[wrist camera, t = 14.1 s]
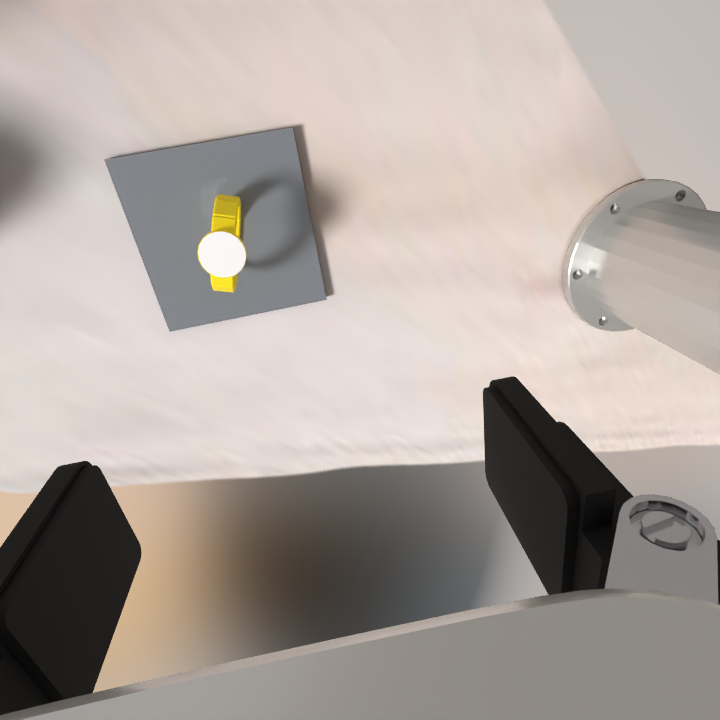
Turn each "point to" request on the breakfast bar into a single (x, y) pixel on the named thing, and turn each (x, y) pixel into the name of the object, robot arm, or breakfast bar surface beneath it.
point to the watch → (223, 244)
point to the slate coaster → (194, 220)
